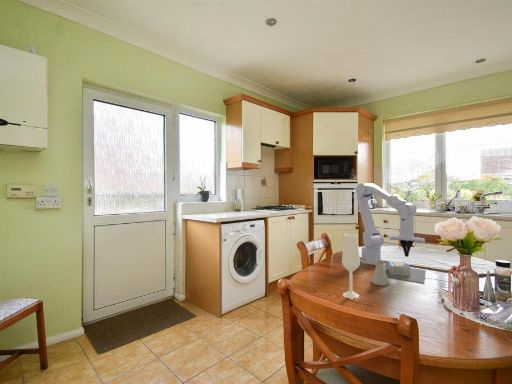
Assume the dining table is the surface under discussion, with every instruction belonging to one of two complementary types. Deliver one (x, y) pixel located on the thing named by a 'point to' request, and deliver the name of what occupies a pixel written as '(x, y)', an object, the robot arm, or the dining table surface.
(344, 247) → the champagne flute
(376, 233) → the robot arm
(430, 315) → the dining table surface
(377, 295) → the dining table surface
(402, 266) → the medicine box
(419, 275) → the mat
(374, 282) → the flask
